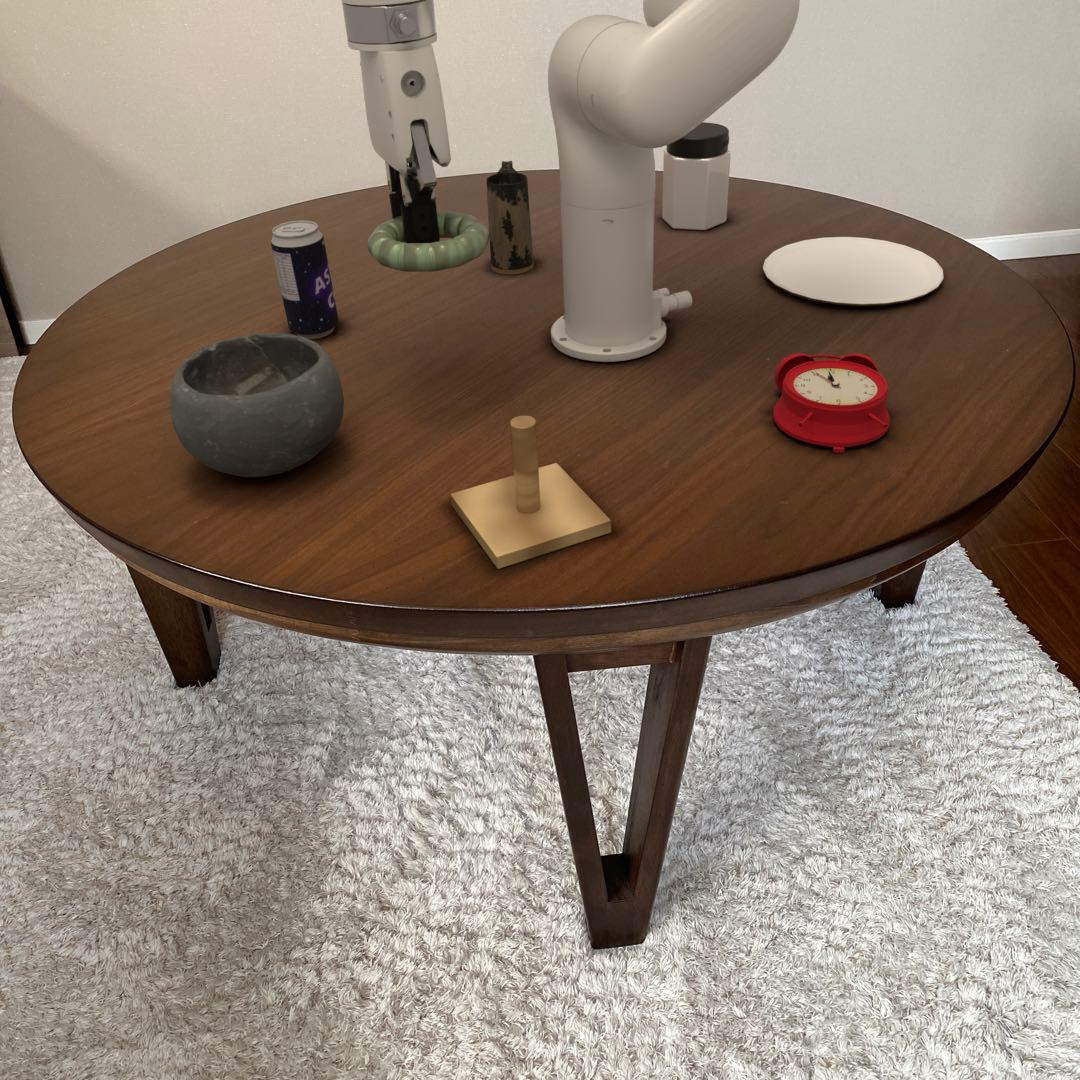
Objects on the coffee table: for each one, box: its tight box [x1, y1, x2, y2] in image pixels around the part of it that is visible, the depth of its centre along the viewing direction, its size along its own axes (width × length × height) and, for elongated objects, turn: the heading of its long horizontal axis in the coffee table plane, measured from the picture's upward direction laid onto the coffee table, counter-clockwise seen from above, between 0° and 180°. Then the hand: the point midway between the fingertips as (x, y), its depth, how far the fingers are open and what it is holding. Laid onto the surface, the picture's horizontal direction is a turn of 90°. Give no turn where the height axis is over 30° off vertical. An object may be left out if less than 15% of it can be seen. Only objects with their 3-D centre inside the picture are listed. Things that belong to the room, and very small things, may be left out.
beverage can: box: [270, 219, 340, 340], centre depth 111 cm, size 6×6×12 cm
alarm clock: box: [772, 352, 891, 454], centre depth 93 cm, size 10×6×15 cm
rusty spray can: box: [486, 160, 535, 275], centre depth 125 cm, size 8×6×12 cm
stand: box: [449, 415, 612, 570], centre depth 80 cm, size 10×10×9 cm
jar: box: [661, 121, 732, 231], centre depth 135 cm, size 9×8×12 cm
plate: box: [762, 236, 944, 307], centre depth 120 cm, size 21×21×1 cm
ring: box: [367, 210, 490, 273], centre depth 91 cm, size 11×11×2 cm
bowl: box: [169, 332, 345, 478], centre depth 89 cm, size 15×15×10 cm
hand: (417, 237), depth 94 cm, fingers closed on ring, 2 cm apart
